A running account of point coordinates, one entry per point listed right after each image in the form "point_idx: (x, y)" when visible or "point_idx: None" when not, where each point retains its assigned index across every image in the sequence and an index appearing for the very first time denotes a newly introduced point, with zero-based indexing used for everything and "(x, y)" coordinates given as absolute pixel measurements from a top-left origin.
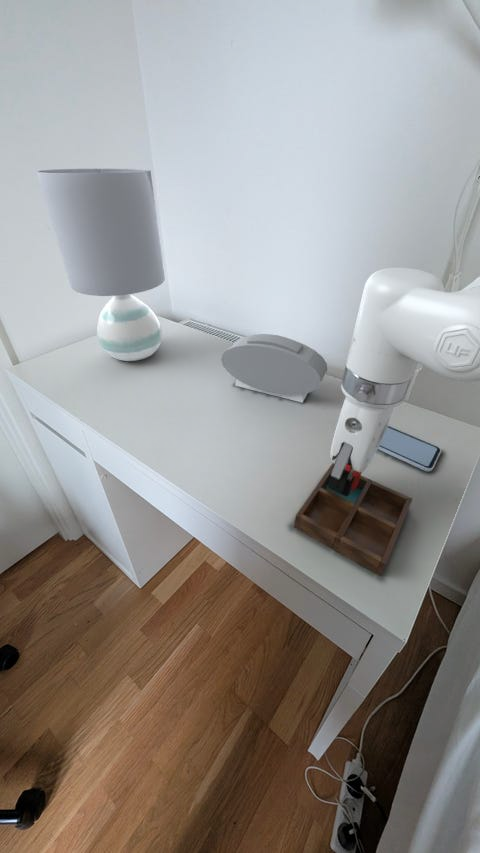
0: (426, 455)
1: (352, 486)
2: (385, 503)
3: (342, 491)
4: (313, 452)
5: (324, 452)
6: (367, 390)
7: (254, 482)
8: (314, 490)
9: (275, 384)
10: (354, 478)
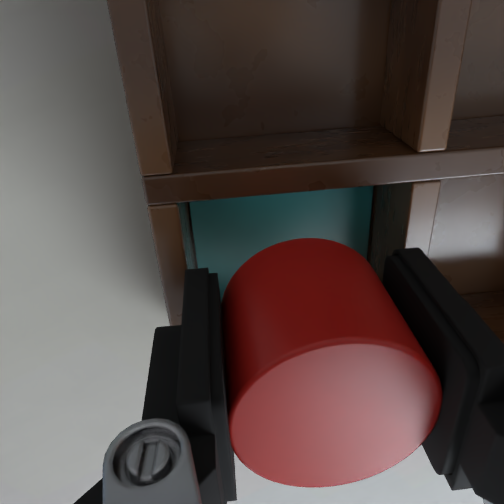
0: None
1: (365, 272)
2: (172, 11)
3: (468, 303)
4: (113, 426)
5: (72, 401)
6: None
7: (401, 463)
8: None
9: None
10: (482, 356)
